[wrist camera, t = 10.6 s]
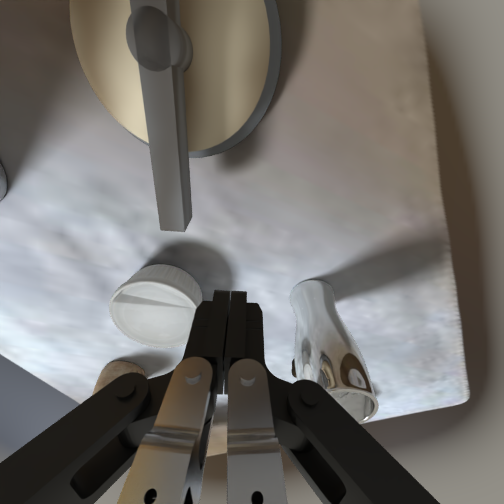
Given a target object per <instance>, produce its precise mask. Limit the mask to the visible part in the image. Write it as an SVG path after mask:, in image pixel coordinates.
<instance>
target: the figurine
mask: <svg viewBox="0 0 504 504" xmlns="http://www.w3.org/2000/svg"><path fill="white" fill-rule="evenodd" d="M130 372H136V373H140V374H142V375H144V374H145V373H144V370H143V369H142V368H141V367H139V366H138V365H136V364H133V363H130V362H125V361H113V362H110V363H108V364H107V365H106V366H105V367H104V369H103V370H102V372H101V373H100V376H99V378H98V380H97V383H96V385H95V388H94V391H93V395H94V394H95V393H96V392H98V391H99V390H101V389H102V388H103V387H105V386H106V385H107V384H109V383H110V382H111V381H113V380H114V379H116V378H117V377H119V376H121V375H123V374H126V373H130ZM144 376H145V375H144Z"/></svg>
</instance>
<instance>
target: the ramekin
mask: <svg viewBox="0 0 504 504" xmlns="http://www.w3.org/2000/svg"><path fill="white" fill-rule="evenodd" d="M201 302H202V292H201V289H200V287H199V285H198V283H197V282H196V280H195V279H194V278H193V277H192V276H191V275H190V274H188V273H187V272H186V271H184V270H182V269H180V268H178V267H175V266H171V265H164V264H157V265H151V266H147V267H145V268H143V269H141V270H139V271H138V272H136V273H135V274H134V275H133V276H132V277H131V278H130V279H129V280H128V281H127V282H125V283H124V284H122V285H121V286H120V287H119V288H118V289H117V290H116V291H115V293H114V294H113V296H112V298H111V300H110V304H109V312H110V316H111V318H112V320H113V322H114V324H115V325H116V327H117V328H118V329H119V330H120V331H121V332H122V333H123V334H124V335H126V336H127V337H129V338H130V339H132V340H134V341H136V342H138V343H140V344H143V345H146V346H150V347H156V348H174V347H179V346H182V345H184V344H186V343H187V341H188V337H189V334H190V330H191V327H192V322H193V319H194V314H195V311H196V308H197V307H198V306H199V305H200V303H201Z"/></svg>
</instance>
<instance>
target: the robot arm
mask: <svg viewBox="0 0 504 504" xmlns="http://www.w3.org/2000/svg"><path fill="white" fill-rule="evenodd" d="M6 189H7V180H6V175H5V172H4V169H3V167H2V165H1V163H0V201H1V200H2V199H3V197H4V195H5V193H6ZM246 302H247V292H246V291H231V300H230V291H222V290H215V291H214V296H213V301H202V302H201V303H200V305H199V306H198V307H197V308H196V311H195V314H194V319H193V322H192V327H191V330H190V334H189V337H188V341H187V345H186V349H185V353H184V356H183V359H182V361H181V362H180V363H179V364H178V365H177V366H176V368H175V369H174V370H173V371H171V372H169V373H167V374H165V375H162V376H158V377H154V378H151V379H146V377H145V376H144V375H142V374H140V373H136V372H130V373H126V374H123V375H121V376H119V377H117V378H116V379H114V380H113V381H111V382H110V383H109V384H107V385H106V386H105V387H103V388H102V389H101V390H99V391H98V392H96V393H95V394H94V395H92V396H91V397H90V398H88V399H87V400H86V401H84V402H83V403H81V404H80V405H79V406H78V407H76V408H75V409H73V410H72V411H71V412H69V413H68V414H66V415H65V416H64V417H62V418H61V419H60V420H58V421H57V422H56V423H54V424H53V425H51V426H50V427H49V428H47V429H46V430H45V431H43V432H42V433H41V434H39V435H38V436H36V437H35V438H34V439H32V440H31V441H30V442H28V443H27V444H26V445H24V446H23V447H21V448H20V449H19V450H17V451H16V452H15V453H13V454H12V455H11V456H9V457H8V458H7V459H5V460H4V461H2V462H1V463H0V504H94V503H95V502H96V501H97V500H98V499H99V498H100V497H101V496H102V495H103V494H104V493H105V492H106V491H107V490H108V489H109V488H110V487H111V486H112V485H113V484H114V483H115V482H116V481H117V480H118V479H119V478H120V477H121V476H122V475H123V474H124V472H126V471H127V469H128V468H129V467H131V468H130V471H129V474H128V476H127V479H126V482H125V484H124V487H123V489H122V492H121V494H120V497H119V499H118V502H117V504H199V501H200V495H201V487H202V477H203V470H204V465H205V459H206V454H207V449H208V444H209V439H210V434H211V428H212V423H213V418H214V412H215V407H216V399H217V394H223V386H224V394H228V421H227V504H288V503H287V496H286V488H285V482H284V474H283V467H282V460H281V453H280V446H279V444H281V446H282V448H283V450H284V451H285V452H286V454H287V455H288V457H289V458H290V459H291V461H292V462H293V464H294V465H295V466H296V468H297V469H298V470H299V472H300V473H301V474H302V476H303V477H304V478H305V480H306V481H307V483H308V484H309V485H310V487H311V488H312V489H313V491H314V492H315V493H316V495H317V496H318V497H319V499H320V500H321V502H322V503H323V504H440V503H439V502H438V501H437V500H436V499H434V497H433V496H432V495H431V494H430V493H429V492H428V491H427V490H426V489H424V487H423V486H422V485H421V484H419V482H418V481H417V480H416V479H414V478H413V476H412V475H411V474H410V473H408V471H407V470H406V469H404V468H403V467H402V466H401V465H400V464H399V463H398V462H397V461H396V460H395V459H394V458H393V457H392V456H391V455H390V454H389V453H388V452H387V451H386V450H385V449H384V448H383V447H382V446H381V445H380V444H379V443H378V442H377V441H376V440H375V439H374V438H373V437H372V436H371V435H370V434H369V433H368V432H367V431H366V430H365V429H364V428H363V427H362V426H361V425H360V424H359V423H358V422H357V421H356V420H355V419H354V418H353V417H352V416H351V415H350V414H349V413H348V412H347V411H346V410H345V409H344V408H343V407H342V406H341V405H340V404H339V403H338V402H337V401H336V400H335V399H334V398H333V397H332V396H331V395H330V394H329V393H328V392H327V391H326V390H325V389H324V388H323V387H322V386H321V385H319V384H318V383H316V382H314V381H312V380H307V379H302V380H298V381H296V382H295V383H293V384H292V383H289V382H287V381H284V380H281V379H279V378H277V377H275V376H274V375H273V374H272V373H271V372H270V371H269V370H268V368H267V367H266V364H265V359H264V337H263V314H262V310H261V308H260V307H259V305H258V303H246Z"/></svg>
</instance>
